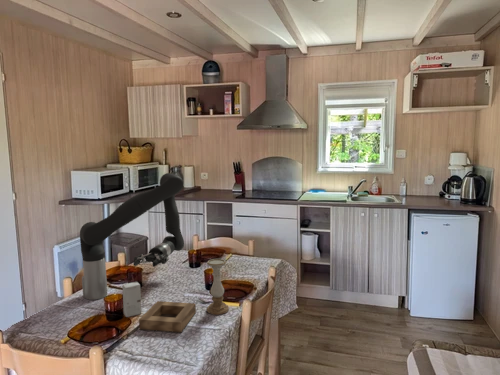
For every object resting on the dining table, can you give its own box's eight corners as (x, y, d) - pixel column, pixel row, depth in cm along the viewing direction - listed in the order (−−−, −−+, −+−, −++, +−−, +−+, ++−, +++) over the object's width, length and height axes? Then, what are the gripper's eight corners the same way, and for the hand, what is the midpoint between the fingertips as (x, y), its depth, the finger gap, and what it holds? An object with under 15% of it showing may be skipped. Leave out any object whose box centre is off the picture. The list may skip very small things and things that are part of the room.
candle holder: (232, 307, 152) (230, 259, 150) (223, 316, 144) (222, 265, 142) (212, 304, 155) (211, 257, 153) (203, 313, 147) (201, 263, 145)
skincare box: (126, 317, 144) (124, 287, 143) (123, 313, 148) (121, 284, 146) (142, 313, 147) (140, 284, 146) (138, 309, 151) (137, 281, 150)
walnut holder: (139, 329, 134) (138, 319, 134) (158, 310, 150) (157, 301, 150) (181, 333, 131) (180, 322, 131) (195, 313, 147) (195, 303, 147)
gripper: (145, 244, 173) (127, 255, 158) (173, 245, 171) (159, 256, 155) (146, 260, 174) (129, 272, 158) (174, 261, 172) (160, 273, 156)
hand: (144, 264), depth 157 cm, fingers open, 8 cm apart
